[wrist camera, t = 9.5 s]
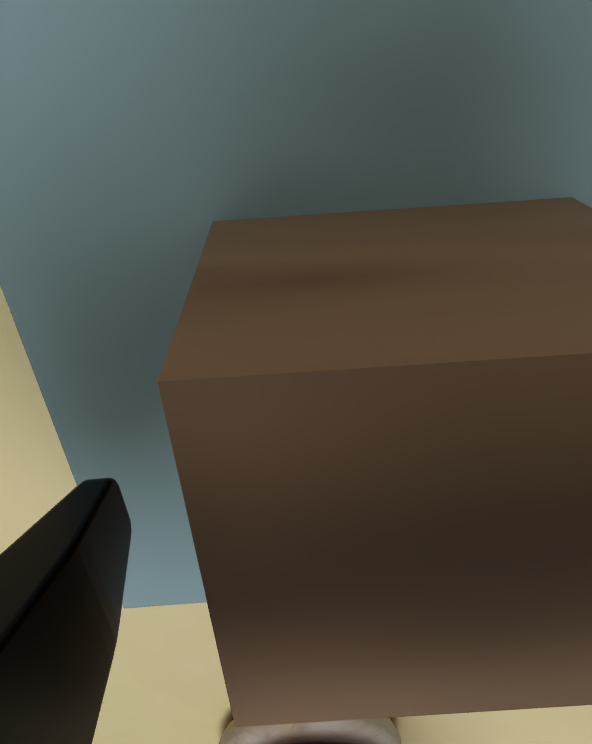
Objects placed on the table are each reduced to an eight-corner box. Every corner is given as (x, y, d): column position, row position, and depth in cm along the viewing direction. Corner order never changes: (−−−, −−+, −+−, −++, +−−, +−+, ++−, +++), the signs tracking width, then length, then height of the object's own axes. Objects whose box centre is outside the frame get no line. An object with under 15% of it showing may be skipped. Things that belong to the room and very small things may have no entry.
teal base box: (587, 464, 18) (662, 567, 14) (153, 498, 18) (123, 608, 14) (737, -107, 10) (965, -176, 7) (-2, -38, 10) (-137, -73, 7)
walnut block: (517, 470, 12) (645, 701, 8) (249, 488, 12) (235, 726, 8) (571, 197, 9) (829, 337, 5) (212, 221, 9) (157, 382, 5)
